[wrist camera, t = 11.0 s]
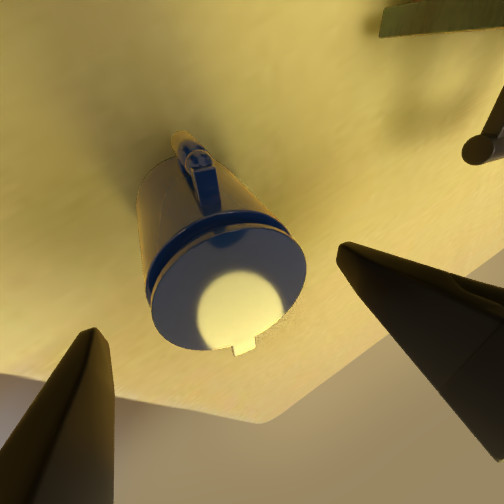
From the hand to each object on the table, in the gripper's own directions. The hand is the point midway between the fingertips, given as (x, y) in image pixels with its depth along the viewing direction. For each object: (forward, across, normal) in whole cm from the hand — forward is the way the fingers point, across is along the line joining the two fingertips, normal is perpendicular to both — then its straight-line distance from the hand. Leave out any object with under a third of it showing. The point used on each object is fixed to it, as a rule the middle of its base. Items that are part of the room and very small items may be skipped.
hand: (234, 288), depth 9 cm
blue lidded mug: (+6, 0, 0) cm, 7 cm away
